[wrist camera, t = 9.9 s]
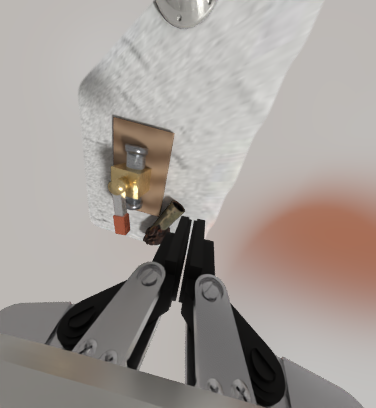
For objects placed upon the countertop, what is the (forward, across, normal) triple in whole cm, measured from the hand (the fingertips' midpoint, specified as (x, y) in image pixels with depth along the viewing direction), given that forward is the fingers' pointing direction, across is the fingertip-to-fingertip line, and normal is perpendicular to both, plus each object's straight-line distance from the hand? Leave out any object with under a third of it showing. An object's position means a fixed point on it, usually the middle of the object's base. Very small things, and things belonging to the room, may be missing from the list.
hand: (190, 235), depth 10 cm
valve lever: (+20, +17, +10) cm, 29 cm away
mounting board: (+29, +18, +4) cm, 34 cm away
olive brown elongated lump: (+30, +9, +20) cm, 37 cm away
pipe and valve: (+28, +18, +5) cm, 33 cm away
